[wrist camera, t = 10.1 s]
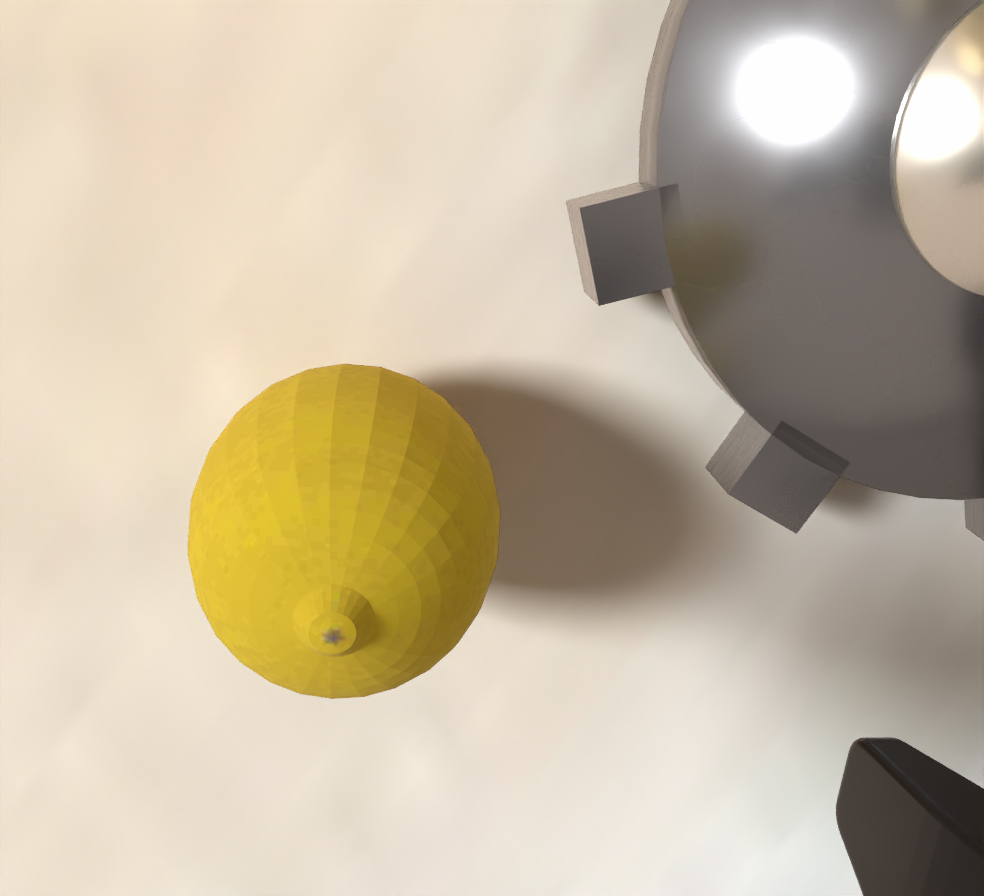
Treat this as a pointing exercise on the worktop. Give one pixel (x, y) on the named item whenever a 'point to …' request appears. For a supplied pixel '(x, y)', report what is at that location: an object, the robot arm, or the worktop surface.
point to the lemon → (344, 531)
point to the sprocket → (816, 239)
